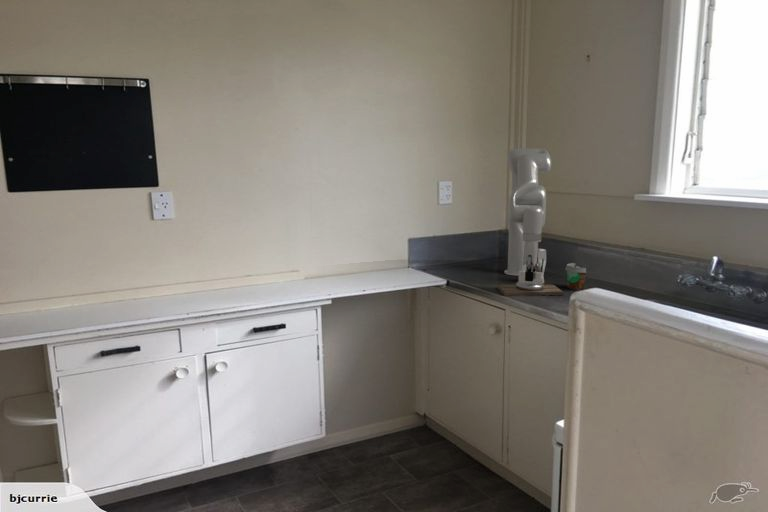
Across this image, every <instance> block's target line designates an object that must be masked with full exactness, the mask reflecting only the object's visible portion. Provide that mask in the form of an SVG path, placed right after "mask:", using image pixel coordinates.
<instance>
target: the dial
mask: <svg viewBox="0 0 768 512" xmlns="http://www.w3.org/2000/svg"><path fill="white" fill-rule="evenodd" d="M544 284H545V283H542V272H533V281H532V282H531V281H525V271H519V276H518V280H517V282H516V287H517V288H519V289H523V290H542V289H543V286H544Z"/></svg>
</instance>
